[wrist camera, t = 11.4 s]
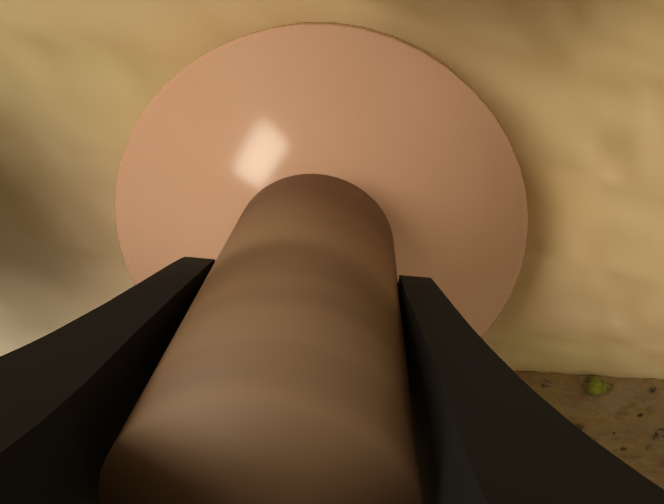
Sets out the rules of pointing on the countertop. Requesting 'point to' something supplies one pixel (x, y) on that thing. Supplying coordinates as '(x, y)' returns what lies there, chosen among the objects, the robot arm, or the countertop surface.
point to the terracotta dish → (329, 156)
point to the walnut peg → (282, 367)
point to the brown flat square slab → (611, 414)
